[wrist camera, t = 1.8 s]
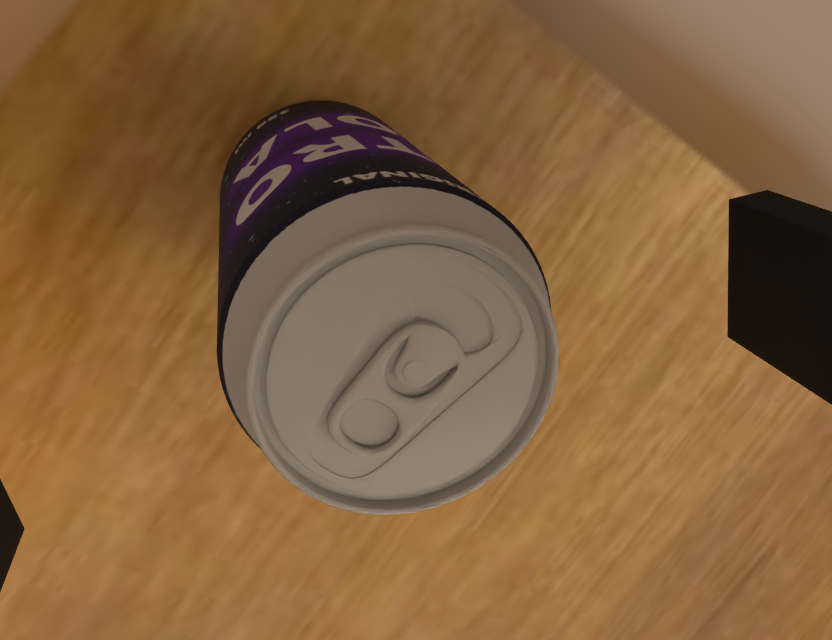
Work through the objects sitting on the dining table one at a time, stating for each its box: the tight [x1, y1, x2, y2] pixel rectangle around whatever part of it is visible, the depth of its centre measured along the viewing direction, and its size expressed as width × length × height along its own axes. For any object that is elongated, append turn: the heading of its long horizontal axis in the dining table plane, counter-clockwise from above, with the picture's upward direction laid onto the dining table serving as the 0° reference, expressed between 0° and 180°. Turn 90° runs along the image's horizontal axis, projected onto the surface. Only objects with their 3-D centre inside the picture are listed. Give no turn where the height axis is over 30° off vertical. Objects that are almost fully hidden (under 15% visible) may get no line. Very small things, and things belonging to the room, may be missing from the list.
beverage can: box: [217, 101, 559, 515], centre depth 17 cm, size 6×6×12 cm
